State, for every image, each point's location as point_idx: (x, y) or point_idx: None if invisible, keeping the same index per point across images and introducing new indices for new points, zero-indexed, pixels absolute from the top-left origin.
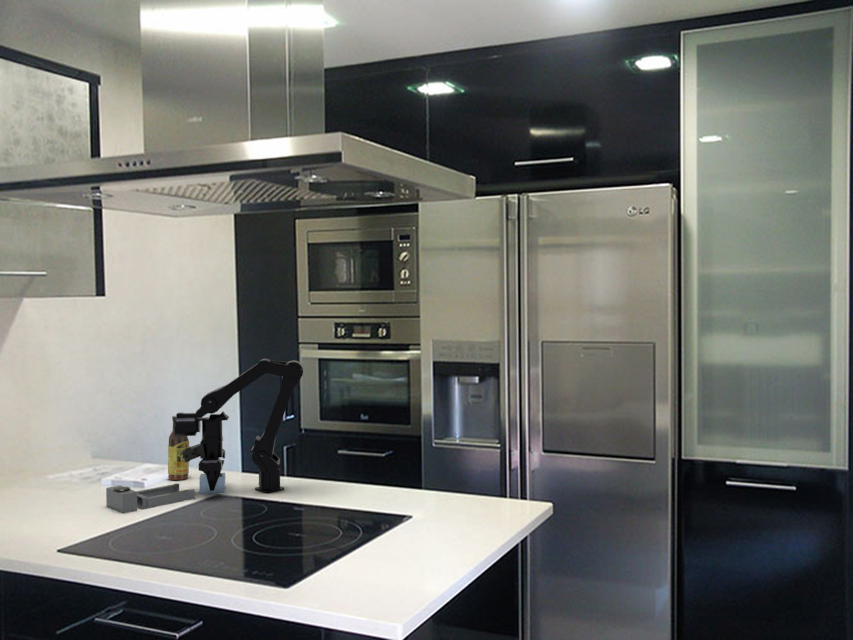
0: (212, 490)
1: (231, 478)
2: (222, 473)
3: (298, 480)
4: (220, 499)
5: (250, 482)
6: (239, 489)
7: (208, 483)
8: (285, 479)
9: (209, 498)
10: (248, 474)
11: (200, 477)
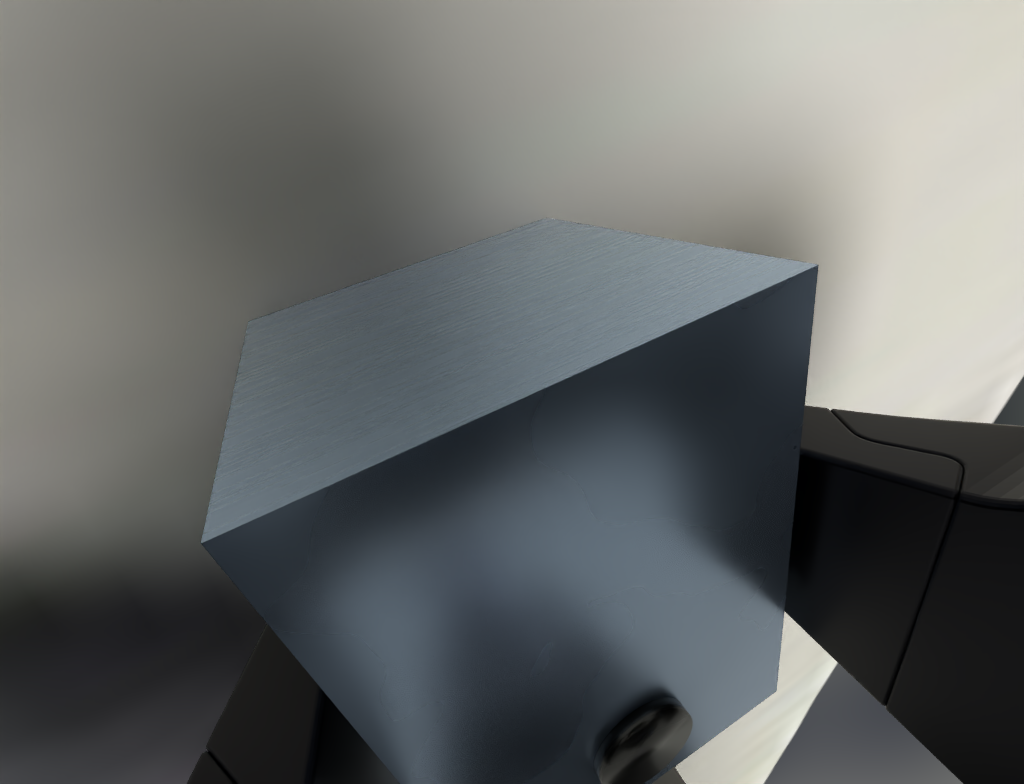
0: None
1: (947, 348)
2: (732, 700)
3: (767, 751)
4: (39, 778)
5: None
6: None
7: (251, 657)
8: (803, 688)
9: (18, 623)
10: (990, 418)
11: (254, 559)
